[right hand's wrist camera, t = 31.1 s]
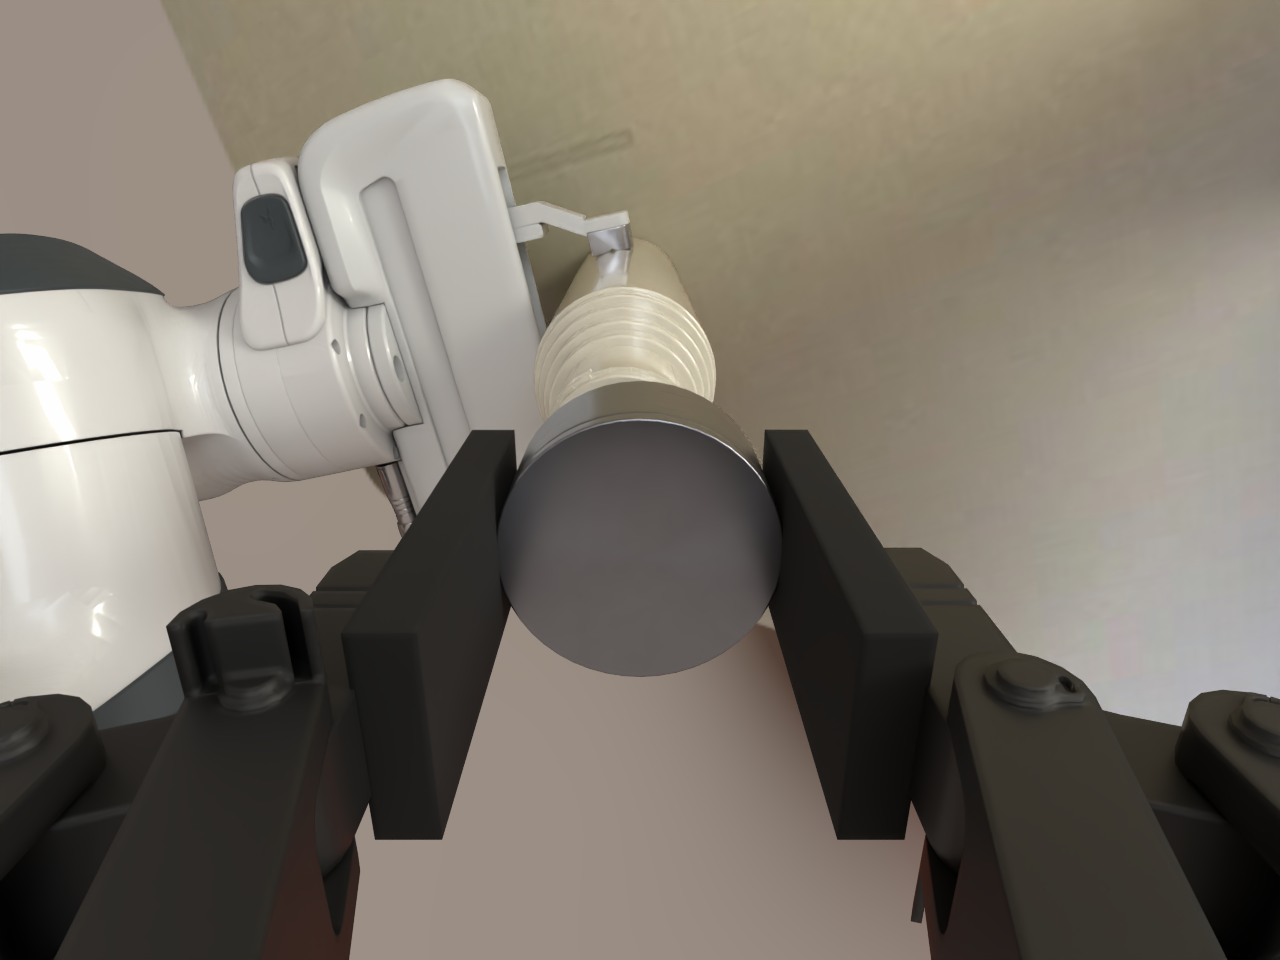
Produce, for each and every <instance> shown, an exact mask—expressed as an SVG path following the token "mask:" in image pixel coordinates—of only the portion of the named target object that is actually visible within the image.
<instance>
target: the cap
mask: <svg viewBox="0 0 1280 960" xmlns="http://www.w3.org/2000/svg"><path fill="white" fill-rule="evenodd" d="M782 540H783V529H782V523H781V518H780V515H779V512H778V509H777V506H776V503H775V500H774V498H773V495H772V493H771V491H770V488H769V486H768V483H767V481H766V478H765V476H764V473H763V471H762V469H761V466H760V464H759V461H758V459H757V456H756V454H755V452H754V450H753V448H752V446H751V444H750V442H749V440H748V439H747V437H746V436H745V434H744V433H743V431H742V430H741V429H740V427H739V426H738V425H737V424H736V423H735V422H734V421H733V420H732V418H731V417H730V416H729V415H727V414H726V413H725V412H724V411H723V410H721V409H720V408H719V407H718V406H716V405H715V404H713V403H712V402H710V401H709V400H707V399H706V398H704V397H702V396H700V395H698V394H696V393H694V392H691V391H689V390H687V389H683V388H680V387H677V386H674V385H670V384H664V383H659V382H649V381H631V382H620V383H615V384H610V385H605V386H602V387H599V388H596V389H593V390H590V391H588V392H586V393H584V394H582V395H580V396H578V397H576V398H574V399H572V400H571V401H569V402H568V403H566V404H565V405H563V406H562V407H560V408H559V409H558V410H557V411H556V412H554V413H553V414H552V415H551V416H550V417H549V418H548V419H547V420H546V421H545V422H544V423H543V425H542V426H541V427H540V428H539V429H538V430H537V432H536V433H535V435H534V437H533V438H532V440H531V441H530V443H529V444H528V447H527V449H526V451H525V453H524V456H523V458H522V460H521V463H520V465H519V467H518V470H517V472H516V475H515V477H514V480H513V482H512V484H511V487H510V489H509V492H508V494H507V497H506V499H505V501H504V504H503V506H502V510H501V513H500V517H499V520H498V524H497V548H498V561H499V573H500V581H501V584H502V587H503V590H504V592H505V594H506V596H507V599H508V601H509V603H510V605H511V607H512V608H513V610H514V611H515V613H516V614H517V616H518V617H519V619H520V620H521V621H522V622H523V624H524V625H525V626H526V627H527V628H528V629H529V631H530V632H531V633H532V634H533V635H534V636H535V637H537V638H538V639H539V640H540V641H541V642H542V643H543V644H544V645H546V646H547V647H549V648H550V649H552V650H553V651H554V652H556V653H557V654H559V655H561V656H563V657H565V658H566V659H568V660H570V661H572V662H574V663H577V664H579V665H582V666H584V667H587V668H589V669H593V670H596V671H600V672H604V673H608V674H615V675H621V676H636V677H645V676H659V675H665V674H671V673H676V672H680V671H683V670H686V669H690V668H693V667H696V666H698V665H700V664H703V663H705V662H707V661H710V660H711V659H713V658H715V657H717V656H718V655H720V654H722V653H724V652H725V651H726V650H728V649H729V648H731V647H732V646H733V645H735V644H736V643H737V642H739V641H740V640H741V639H742V638H743V637H744V636H745V635H746V634H747V633H748V632H749V631H750V630H751V629H752V628H753V626H754V625H755V624H756V623H757V622H758V620H759V619H760V618H761V617H762V615H763V613H764V612H765V610H766V609H767V607H768V605H769V604H770V602H771V600H772V597H773V595H774V593H775V591H776V588H777V586H778V582H779V578H780V567H781V554H782Z"/></svg>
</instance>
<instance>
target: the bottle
mask: <svg viewBox="0 0 1280 960" xmlns="http://www.w3.org/2000/svg"><path fill="white" fill-rule="evenodd" d="M633 243H634V247H632V248H629V249H625V250H615V249H613V248H612V249H611V250H610V252H608V253H606V254H603V255H598V256H592V252H590V253H589V254H588V256H587V257H586V258H585V259H584V261H583V263H582V264H581V266H580V268H579V270H578V272H577V274H576V275H575V277H574V279H573V281H572V283H571V285H570V287H569V288H568V290H567V292H566V294H565V296H564V298H563V300H562V301H561V303H560V305H559V307H558V309H557V311H556V313H555V315H554V316H553V318H552V320H551V322H550V324H549V326H548V328H547V329H546V331H545V333H544V335H543V337H542V339H541V342H540V344H539V347H538V350H537V354H536V357H535V364H534V390H535V397H536V402H537V406H538V409H539V412H540V414H541V417H542V419H543V421H544V422H545V421H546V420H547V419H548V418H549V417H550V416H551V415H552V414H553V413H554V412H556V411H557V410H558V409H559V408H560V407H562V406H563V405H565V404H566V403H568V402H569V401H571V400H572V399H574V398H576V397H578V396H580V395H582V394H584V393H586V392H588V391H590V390H593V389H596V388H599V387H602V386H605V385H610V384H615V383H620V382H631V381H649V382H659V383H664V384H670V385H674V386H677V387H680V388H683V389H687V390H689V391H691V392H694V393H696V394H698V395H700V396H702V397H704V398H706V399H707V400H709V401H710V402H712V403H713V399H714V393H715V385H716V366H715V360H714V355H713V352H712V349H711V346H710V343H709V341H708V338H707V336H706V334H705V332H704V330H703V328H702V325H701V323H700V321H699V319H698V317H697V315H696V312H695V310H694V308H693V306H692V304H691V301H690V299H689V297H688V295H687V293H686V291H685V288H684V286H683V284H682V282H681V280H680V278H679V275H678V273H677V271H676V269H675V267H674V265H673V263H672V262H671V260H670V259H669V257H668V256H667V255H666V254H665V253H664V252H663V251H662V250H661V249H660V248H659V247H657V246H656V245H654V244H652V243H650V242H648V241H646V240H643V239H640V238H635V237H633Z"/></svg>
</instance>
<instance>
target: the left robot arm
mask: <svg viewBox="0 0 1280 960" xmlns="http://www.w3.org/2000/svg"><path fill="white" fill-rule="evenodd" d="M233 204H234V215H235V226H236V237H237V251H238V267H239V287H237V288H235V289H233V290H231V291H229V292H227V293H225V294H223V295H221V296H219V297H217V298H216V299H214V300H211V301H209V302H206V303H203V304H199V305H195V306H187V307H174V306H171V305H170V304H168V303H167V302H166V301H165V299H164V294H163V293H162V292H161V291H160V290H158V289H157V288H155V287H154V286H153V285H151V284H150V283H148V282H146V281H145V280H143V279H141V278H140V277H138V276H136V275H134V274H133V273H131V272H129V271H127V270H125V269H123V268H121V267H120V266H118V265H116V264H114V263H112V262H110V261H108V260H107V259H105V258H103V257H101V256H99V255H97V254H96V253H94V252H92V251H90V250H88V249H86V248H84V247H82V246H80V245H77V244H74V243H72V242H68V241H65V240H61V239H57V238H51V237H45V236H37V235H29V234H0V703H3V702H6V701H9V700H10V702H11V701H14V699H18V698H23V697H27V696H39V695H49V694H64V695H70V696H77V697H80V698H81V699H83V700H84V701H85V702H86V703H88V704H89V705H90V706H91V708H92V711H93V714H94V717H95V720H96V723H97V726H98V729H99V730H102V729H107V728H112V727H117V726H122V725H128V724H133V723H138V722H143V721H148V720H153V719H158V718H162V717H166V716H170V715H174V714H177V712H178V710H179V708H180V706H181V704H182V702H183V700H184V698H185V697H184V694H183V690H182V686H181V682H180V678H179V675H178V671H177V667H176V663H175V660H174V656H173V652H172V648H171V644H170V641H169V637H168V633H167V629H166V626H167V625H168V624H169V623H170V622H171V621H172V620H173V618H174V617H175V616H176V615H177V614H178V613H179V612H181V611H183V610H184V609H186V608H188V607H190V606H191V605H193V604H195V603H197V602H198V601H200V600H202V599H205V598H208V597H210V596H213V595H216V594H219V593H222V592H225V591H228V589H227V587H226V584H225V581H224V579H223V577H222V576H221V574H220V573H219V572H218V571H217V567H216V563H215V560H214V556H213V552H212V549H211V545H210V542H209V538H208V534H207V531H206V527H205V524H204V520H203V516H202V513H201V509H200V505H199V502H198V501H202V500H207V499H212V498H215V497H218V496H221V495H223V494H226V493H227V492H230V491H231V490H233V489H235V488H237V487H238V486H240V485H242V484H245V483H248V482H252V481H257V480H271V481H280V482H290V481H300V480H305V479H310V478H315V477H320V476H325V475H330V474H335V473H340V472H345V471H350V470H354V469H359V468H364V467H369V466H374V465H376V468H377V471H378V474H379V476H380V479H381V482H382V484H383V487H384V490H385V492H386V495H387V497H388V499H389V501H390V503H391V504H392V507H393V509H394V511H395V514H396V517H397V520H398V523H397V524H398V529H399V532H400V534H401V537H403V536H404V534H405V533H406V531H407V530H408V528H409V527H410V525H411V524H412V522H413V520H414V519H415V517H416V516H417V514H418V513H419V511H420V510H421V508H422V507H423V505H424V503H425V502H426V500H427V499H428V497H429V496H430V494H431V493H432V491H433V490H434V488H435V486H436V485H437V483H438V482H439V480H440V479H441V477H442V476H443V474H444V473H445V471H446V469H447V468H448V466H449V465H450V463H451V462H452V460H453V459H454V457H455V456H456V454H457V452H458V451H459V449H460V448H461V446H462V445H463V443H464V442H465V440H466V439H467V437H468V435H469V434H470V432H471V431H472V430H515V446H516V462H517V470H518V467H519V465H520V463H521V460H522V458H523V456H524V453H525V451H526V449H527V447H528V444H529V443H530V441H531V440H532V438H533V437H534V435H535V433H536V432H537V430H538V429H539V428H540V427H541V426H542V425H543V423H544V421H543V419H542V417H541V414H540V412H539V409H538V406H537V402H536V397H535V390H534V364H535V357H536V354H537V350H538V347H539V344H540V342H541V339H542V337H543V335H544V333H545V331H546V329H547V325H546V321H545V317H544V314H543V310H542V306H541V302H540V298H539V294H538V290H537V286H536V282H535V278H534V274H533V270H532V266H531V262H530V258H529V254H528V250H527V246H526V241H530V240H535V239H539V238H542V237H543V236H545V235H546V234H547V233H548V226H547V224H548V225H551V226H554V227H558V228H561V229H564V230H567V231H570V232H573V233H576V234H579V235H582V236H585V237H587V236H588V240H589V244H590V248H591V252H592V256H598V255H603V254H606V253H608V252H610V250H611V249H612V248H613V249H615V250H625V249H629V248H632V247H634V243H633V237H632V232H631V226H630V222H629V217H628V212H627V210H623V211H618V212H613V213H608V214H604V215H599V216H595V217H590V218H586V216H585V215H583V214H580V213H577V212H574V211H571V210H568V209H565V208H562V207H559V206H556V205H553V204H550V203H548V202H545V201H537V202H533V203H528V204H524V205H519V206H516V203H515V199H514V195H513V191H512V187H511V183H510V179H509V175H508V171H507V167H506V163H505V159H504V155H503V151H502V148H501V144H500V140H499V136H498V132H497V128H496V124H495V120H494V116H493V112H492V108H491V105H490V103H489V101H488V99H487V98H486V97H485V96H484V95H482V94H481V93H480V92H478V91H477V90H475V89H474V88H473V87H471V86H469V85H468V84H466V83H464V82H462V81H459V80H455V79H441V80H436V81H432V82H428V83H424V84H420V85H417V86H414V87H410V88H407V89H404V90H401V91H398V92H395V93H392V94H389V95H386V96H383V97H381V98H378V99H376V100H373V101H370V102H368V103H365V104H363V105H361V106H358V107H356V108H354V109H352V110H349V111H347V112H345V113H343V114H341V115H339V116H336V117H335V118H333V119H331V120H329V121H327V122H326V123H324V124H323V125H321V126H320V127H319V128H317V129H316V130H315V131H314V132H313V133H312V134H311V135H310V136H309V138H308V139H307V140H306V142H305V144H304V146H303V148H302V150H301V153H300V156H299V157H279V158H273V159H267V160H263V161H259V162H255V163H253V164H250V165H247V166H245V167H242V168H241V169H239V170H238V171H237V172H236V174H235V176H234V181H233Z"/></svg>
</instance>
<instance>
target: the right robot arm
mask: <svg viewBox="0 0 1280 960" xmlns="http://www.w3.org/2000/svg"><path fill="white" fill-rule="evenodd" d="M762 471H763V473H764V476H765V478H766V481H767V483H768V486H769V488H770V491H771V493H772V495H773V498H774V500H775V503H776V506H777V509H778V512H779V515H780V518H781V523H782V529H783V540H782V554H781V567H780V578H779V582H778V586H777V588H776V591H775V593H774V595H773V597H772V600H771V602H770V604H769V605H768V606H769V609H770V613H771V616H772V620H773V623H774V626H775V630H776V633H777V637H778V640H779V643H780V647H781V650H782V653H783V657H784V660H785V664H786V667H787V670H788V674H789V677H790V681H791V684H792V687H793V691H794V694H795V698H796V701H797V704H798V708H799V711H800V714H801V718H802V721H803V725H804V728H805V731H806V735H807V738H808V742H809V745H810V748H811V752H812V755H813V758H814V762H815V765H816V768H817V772H818V775H819V779H820V782H821V786H822V789H823V792H824V796H825V799H826V803H827V806H828V809H829V813H830V816H831V820H832V823H833V826H834V830H835V833H836V836H837V839H838V840H904V839H905V833H906V827H907V821H908V815H909V809H910V803H911V801H912V803H913V805H914V807H915V810H916V812H917V814H918V817H919V819H920V821H921V824H922V826H923V828H924V831H925V833H926V835H925V841H924V846H923V852H922V857H921V863H920V869H919V874H918V880H917V885H916V891H915V896H914V902H913V909H912V916H911V921H913V922H917V923H921V922H922V917H923V912H924V907H925V914H926V922H927V929H928V938H929V945H930V953H931V960H1280V699H1277V698H1274V697H1270V698H1269V697H1267V695H1262V694H1257V693H1252V692H1239V691H1229V690H1218V691H1212V692H1205V693H1201V694H1199V695H1198V696H1197V697H1196V698H1194V699H1193V700H1192V701H1191V702H1189V705H1188V708H1187V712H1186V715H1185V718H1184V721H1183V724H1182V727H1181V726H1176V725H1170V724H1165V723H1160V722H1155V721H1150V720H1145V719H1140V718H1135V717H1130V716H1125V715H1120V714H1116V713H1112V712H1108V711H1104V710H1102V709H1101V707H1100V705H1099V703H1098V701H1097V699H1096V697H1095V696H1094V694H1093V693H1092V692H1091V691H1090V689H1089V688H1088V687H1087V686H1086V685H1085V683H1084V682H1083V681H1082V680H1080V679H1079V678H1077V677H1076V676H1074V675H1073V674H1071V673H1070V672H1068V671H1067V670H1065V669H1064V668H1062V667H1060V666H1058V665H1056V664H1053V663H1051V662H1048V661H1046V660H1043V659H1041V658H1039V657H1036V656H1031V655H1027V654H1022V653H1017V652H1016V650H1015V649H1014V648H1013V647H1012V645H1011V644H1010V643H1009V642H1008V640H1007V639H1006V638H1005V636H1004V635H1003V634H1002V633H1001V631H1000V630H999V629H998V628H997V626H996V625H995V624H994V622H993V621H992V620H991V619H990V617H989V616H988V615H987V613H986V612H985V611H984V610H983V608H982V607H981V606H980V605H977V601H976V599H975V598H974V597H973V596H972V594H971V593H970V592H969V590H968V589H967V588H964V584H963V583H962V582H961V580H960V579H959V578H958V576H957V575H956V574H955V573H954V571H953V570H952V569H951V568H950V566H949V565H948V564H946V563H945V562H943V561H941V560H940V559H938V558H937V557H935V556H933V555H932V554H930V553H928V552H927V551H925V550H923V549H922V548H883V546H882V545H881V543H880V541H879V540H878V538H877V537H876V535H875V534H874V532H873V531H872V529H871V528H870V526H869V524H868V523H867V521H866V520H865V518H864V517H863V515H862V514H861V512H860V511H859V509H858V507H857V506H856V504H855V503H854V501H853V500H852V498H851V497H850V495H849V494H848V492H847V490H846V489H845V487H844V486H843V484H842V483H841V481H840V480H839V478H838V476H837V475H836V473H835V472H834V470H833V469H832V467H831V466H830V464H829V463H828V461H827V459H826V458H825V456H824V455H823V453H822V452H821V450H820V449H819V447H818V446H817V444H816V442H815V441H814V439H813V438H812V436H811V435H810V433H809V432H808V430H765V437H764V453H763V469H762ZM516 472H517V462H516V446H515V430H472V431H471V432H470V434H469V435H468V437H467V439H466V440H465V442H464V443H463V445H462V446H461V448H460V449H459V451H458V452H457V454H456V456H455V457H454V459H453V460H452V462H451V463H450V465H449V466H448V468H447V469H446V471H445V473H444V474H443V476H442V477H441V479H440V480H439V482H438V483H437V485H436V486H435V488H434V490H433V491H432V493H431V494H430V496H429V497H428V499H427V500H426V502H425V503H424V505H423V507H422V508H421V510H420V511H419V513H418V514H417V516H416V517H415V519H414V520H413V522H412V524H411V525H410V527H409V528H408V530H407V531H406V533H405V534H404V536H403V537H402V539H401V541H400V542H399V544H398V545H397V547H396V548H395V550H359V551H357V552H356V553H354V554H352V555H351V556H349V557H348V558H346V559H344V560H343V561H341V562H340V563H338V564H336V565H335V566H333V567H332V568H331V569H330V570H329V571H328V573H327V574H326V575H325V577H324V578H323V579H322V580H321V582H320V583H319V584H318V586H317V587H316V591H313V592H312V593H311V594H310V596H309V595H308V594H306V593H305V592H304V591H302V590H301V589H298V588H293V587H289V586H284V585H254V586H248V587H243V588H238V589H233V590H228V591H225V592H222V593H219V594H216V595H213V596H210V597H208V598H205V599H202V600H200V601H198V602H197V603H195V604H193V605H191V606H190V607H188V608H186V609H184V610H183V611H181V612H179V613H178V614H177V615H176V616H175V617H174V618H173V620H172V621H171V622H170V623H169V624H168V625H167V626H166V629H167V633H168V637H169V641H170V644H171V648H172V652H173V656H174V660H175V663H176V667H177V671H178V675H179V678H180V682H181V686H182V690H183V694H184V697H185V698H184V700H183V702H182V704H181V706H180V708H179V710H178V712H177V714H174V715H170V716H166V717H162V718H158V719H153V720H148V721H143V722H138V723H133V724H128V725H122V726H117V727H112V728H107V729H102V730H99V729H98V726H97V723H96V720H95V717H94V714H93V711H92V708H91V706H90V705H89V704H88V703H86V702H85V701H84V700H83V699H81V698H80V697H77V696H70V695H64V694H49V695H39V696H27V697H23V698H18V699H14V701H11V702H10V700H9V701H6V702H3V703H0V960H349V955H350V947H351V939H352V931H353V923H354V916H355V908H356V900H357V891H358V883H359V876H360V866H359V858H358V852H357V846H356V841H355V834H356V831H357V829H358V827H359V824H360V822H361V820H362V817H363V815H364V813H365V810H366V808H367V805H368V803H369V806H370V813H371V818H372V824H373V830H374V836H375V840H442V838H443V835H444V831H445V828H446V824H447V821H448V818H449V814H450V811H451V808H452V804H453V801H454V797H455V794H456V791H457V787H458V784H459V780H460V777H461V774H462V770H463V767H464V764H465V760H466V757H467V753H468V750H469V747H470V743H471V740H472V736H473V733H474V730H475V726H476V723H477V719H478V716H479V713H480V709H481V706H482V703H483V699H484V696H485V692H486V689H487V686H488V682H489V679H490V675H491V672H492V669H493V665H494V662H495V658H496V655H497V652H498V648H499V645H500V641H501V638H502V635H503V631H504V628H505V625H506V621H507V618H508V614H509V611H510V608H511V605H510V603H509V601H508V599H507V596H506V594H505V592H504V590H503V587H502V584H501V581H500V573H499V561H498V548H497V524H498V520H499V517H500V513H501V510H502V506H503V504H504V501H505V499H506V497H507V494H508V492H509V489H510V487H511V484H512V482H513V480H514V477H515V475H516Z"/></svg>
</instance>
